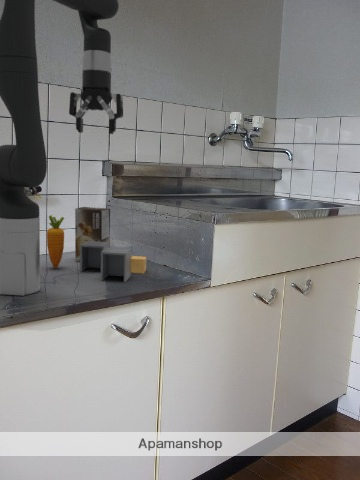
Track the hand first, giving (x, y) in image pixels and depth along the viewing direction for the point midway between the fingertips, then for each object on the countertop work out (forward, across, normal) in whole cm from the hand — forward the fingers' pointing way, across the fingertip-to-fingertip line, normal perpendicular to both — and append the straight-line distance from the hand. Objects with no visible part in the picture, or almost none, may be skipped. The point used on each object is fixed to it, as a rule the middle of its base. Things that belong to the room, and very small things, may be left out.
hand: (95, 133), depth 133 cm
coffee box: (+38, -4, +11) cm, 40 cm away
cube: (+38, +12, +1) cm, 40 cm away
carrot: (+38, -10, -2) cm, 39 cm away
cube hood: (+38, +9, -9) cm, 40 cm away
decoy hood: (+38, 0, -1) cm, 38 cm away
